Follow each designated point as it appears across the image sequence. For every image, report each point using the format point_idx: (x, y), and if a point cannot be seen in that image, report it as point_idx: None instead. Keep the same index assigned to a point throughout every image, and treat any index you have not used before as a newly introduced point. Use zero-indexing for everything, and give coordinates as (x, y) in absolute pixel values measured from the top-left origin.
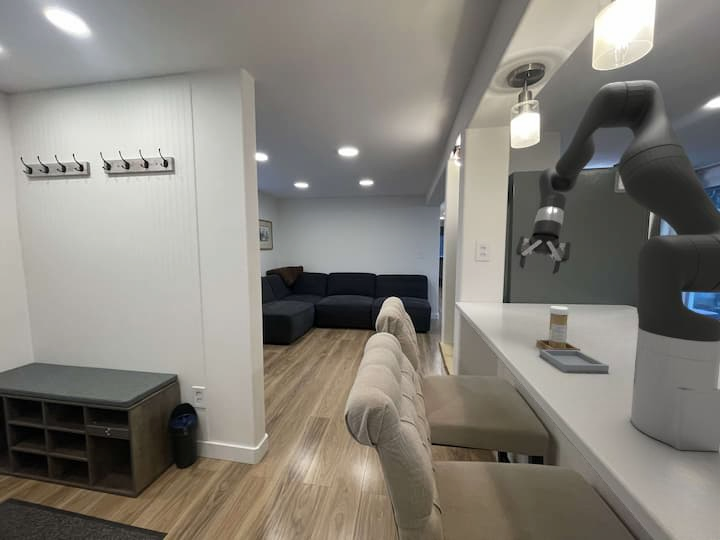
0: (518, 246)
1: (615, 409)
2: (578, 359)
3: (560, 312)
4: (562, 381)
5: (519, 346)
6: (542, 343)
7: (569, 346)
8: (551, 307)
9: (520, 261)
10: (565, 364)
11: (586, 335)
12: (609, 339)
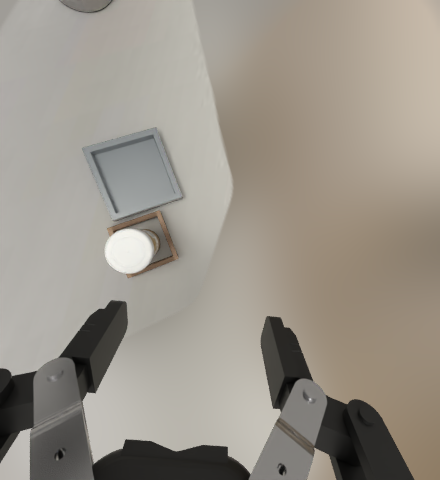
0: (404, 477)
1: (121, 23)
2: (120, 194)
3: (131, 228)
4: (167, 96)
5: (208, 242)
6: (170, 239)
7: None
8: (150, 245)
9: (297, 348)
10: (154, 129)
11: None
12: None
